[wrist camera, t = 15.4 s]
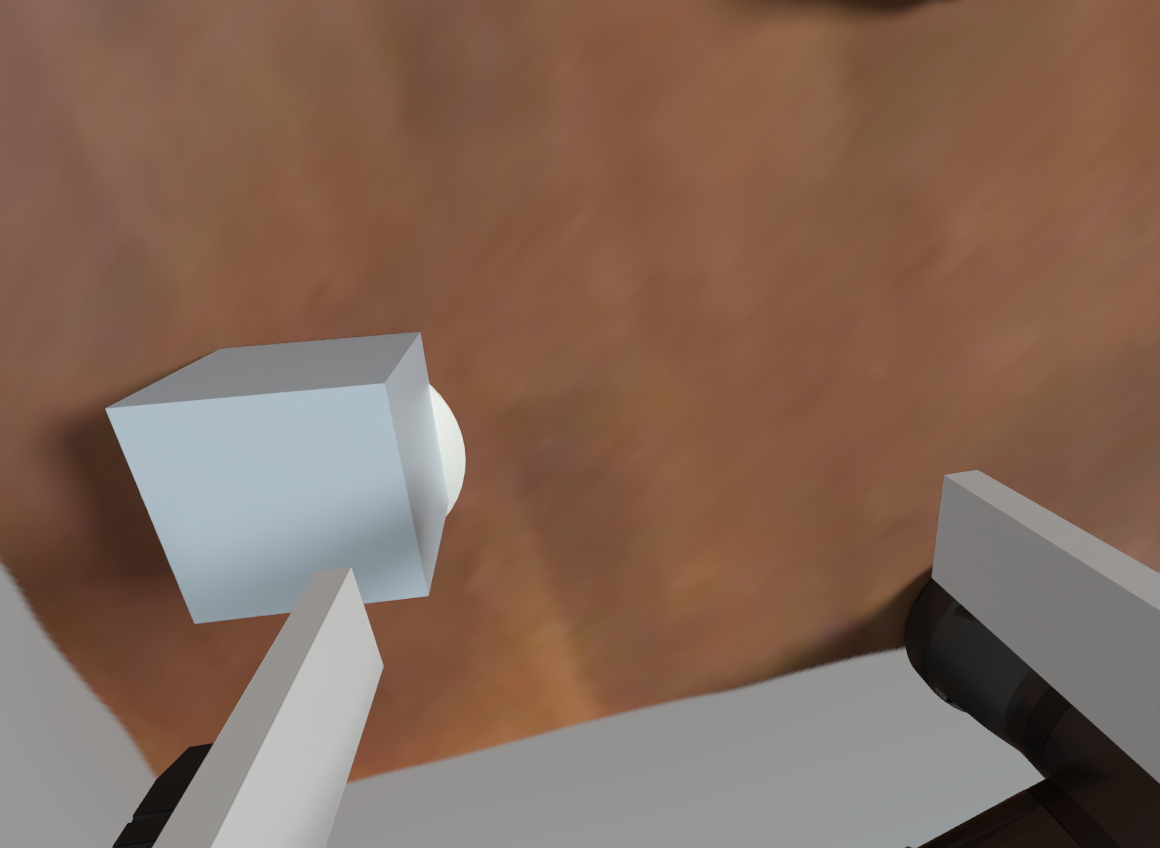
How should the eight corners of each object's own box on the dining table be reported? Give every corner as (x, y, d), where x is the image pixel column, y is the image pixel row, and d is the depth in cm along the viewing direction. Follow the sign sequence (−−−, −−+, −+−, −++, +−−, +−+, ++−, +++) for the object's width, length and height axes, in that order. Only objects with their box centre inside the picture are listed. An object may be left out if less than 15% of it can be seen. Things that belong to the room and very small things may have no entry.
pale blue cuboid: (449, 499, 34) (428, 595, 25) (273, 517, 33) (194, 623, 25) (420, 331, 30) (384, 382, 22) (220, 348, 29) (105, 408, 21)
